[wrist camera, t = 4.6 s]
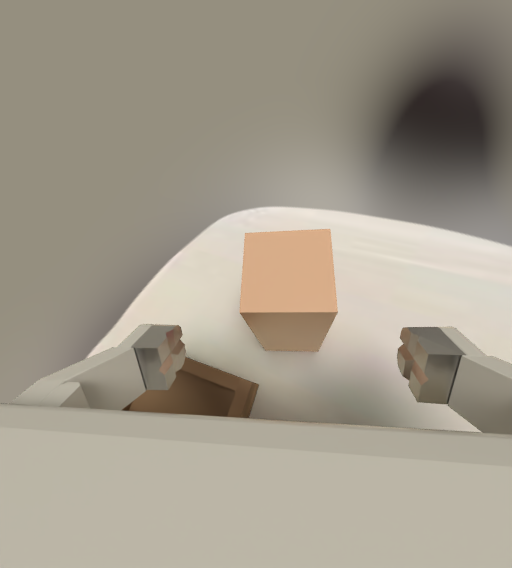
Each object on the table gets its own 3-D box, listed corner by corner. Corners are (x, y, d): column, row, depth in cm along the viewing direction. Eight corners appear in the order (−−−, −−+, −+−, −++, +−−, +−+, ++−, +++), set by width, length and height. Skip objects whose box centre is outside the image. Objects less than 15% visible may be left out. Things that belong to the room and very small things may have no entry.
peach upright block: (318, 351, 19) (337, 312, 10) (265, 350, 20) (239, 312, 11) (315, 301, 21) (330, 228, 12) (266, 301, 21) (245, 233, 12)
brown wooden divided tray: (142, 747, 13) (97, 850, 10) (18, 638, 15) (-48, 696, 12) (258, 384, 19) (252, 382, 16) (157, 346, 21) (135, 338, 18)
